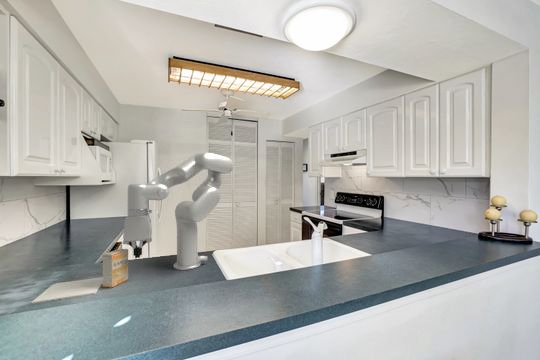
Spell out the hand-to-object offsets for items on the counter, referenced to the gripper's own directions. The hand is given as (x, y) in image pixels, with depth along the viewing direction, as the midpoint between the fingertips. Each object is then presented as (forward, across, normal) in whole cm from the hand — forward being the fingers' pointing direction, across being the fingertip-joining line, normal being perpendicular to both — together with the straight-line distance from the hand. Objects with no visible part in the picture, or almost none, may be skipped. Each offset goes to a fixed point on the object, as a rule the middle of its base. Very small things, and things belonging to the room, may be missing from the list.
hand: (137, 257), depth 99 cm
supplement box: (+10, +8, 0) cm, 13 cm away
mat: (+10, +22, 0) cm, 24 cm away
